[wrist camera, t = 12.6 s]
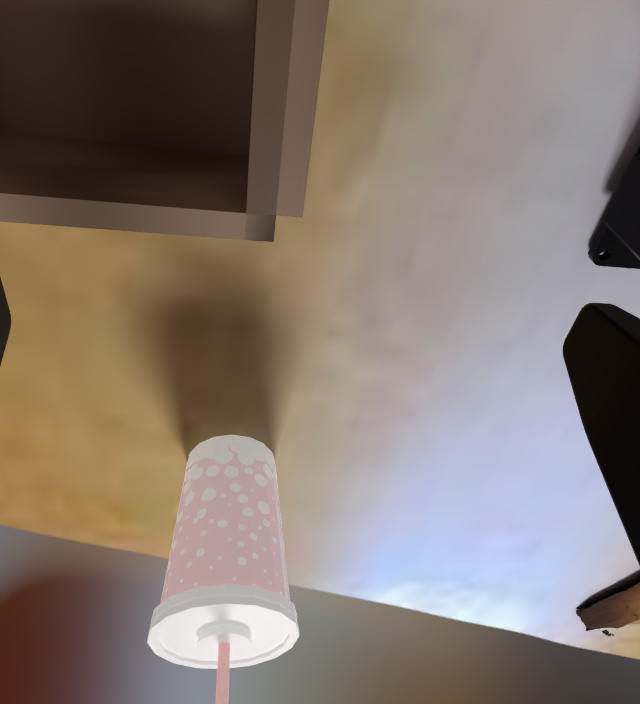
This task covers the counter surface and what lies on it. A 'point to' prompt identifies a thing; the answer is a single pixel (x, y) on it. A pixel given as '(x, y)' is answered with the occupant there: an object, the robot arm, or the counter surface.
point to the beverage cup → (226, 565)
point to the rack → (158, 113)
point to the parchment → (613, 611)
